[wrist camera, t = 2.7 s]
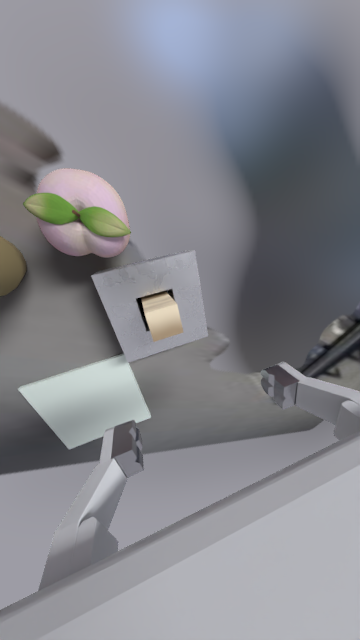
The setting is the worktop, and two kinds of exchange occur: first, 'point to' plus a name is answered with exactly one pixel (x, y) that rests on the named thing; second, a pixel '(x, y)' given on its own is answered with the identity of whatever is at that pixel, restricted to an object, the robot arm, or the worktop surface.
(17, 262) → the squeeze bottle
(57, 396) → the sage pad
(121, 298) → the aluminium socket block
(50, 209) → the decorative fruit
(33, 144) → the worktop surface
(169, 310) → the birch peg
